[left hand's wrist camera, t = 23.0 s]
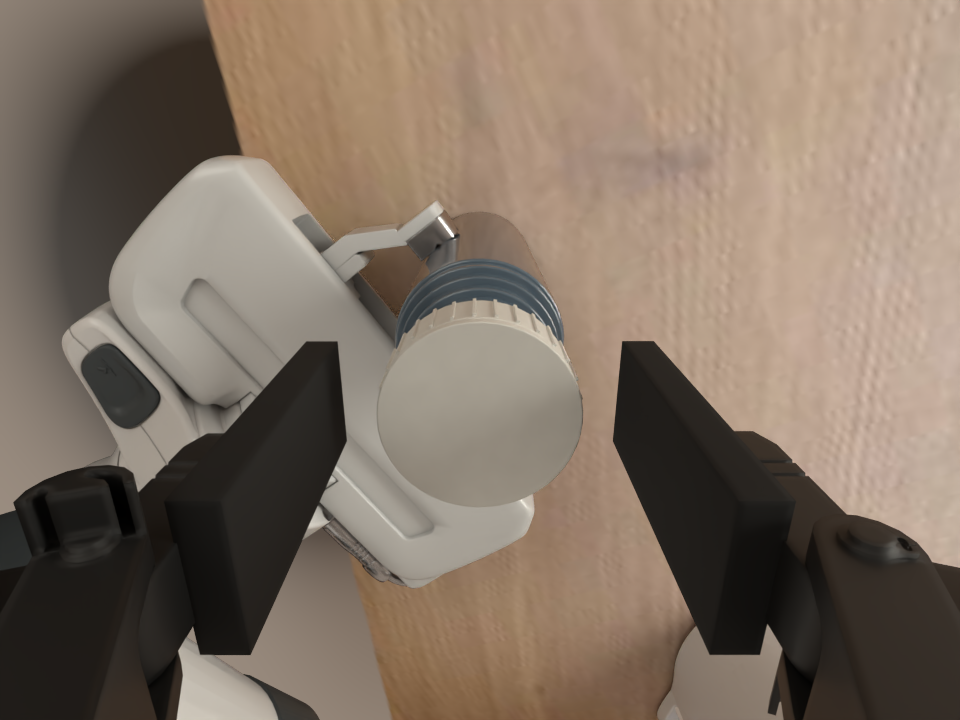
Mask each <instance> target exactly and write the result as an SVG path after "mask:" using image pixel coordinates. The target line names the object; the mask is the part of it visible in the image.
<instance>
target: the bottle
mask: <svg viewBox="0 0 960 720" xmlns="http://www.w3.org/2000/svg"><path fill="white" fill-rule="evenodd" d="M452 221H453V222H454V223H455V225H456V226H457V228H458V232H457V234H456V235H455V236H454V237H452V238H451V239H450V240H448V241H447V242H445V243H443V244H437V247H436V249H435V250H434V251H433V252H432V253H431V254H430V255H429V256H428V257H426V258H425V260H424V262H423V264H422V266H421V268H420V270H419V273H418V275H417V277H416V279H415V281H414V283H413V285H412V287H411V289H410V291H409V293H408V295H407V297H406V299H405V301H404V304H403V306H402V308H401V311H400V313H399V316H398V320H397V325H396V333H395V344H396V349H397V348H398V345H399V343H400V341H401V338H402V336H403V334H404V333H408V332H409V331H410V330H411V329H412V327H413V326H414V325H415V323H416V321H417V320H418V319H420V320H422V319H423V318H424V317H426V316H428V315H429V314H431V313H432V312H433V309H435V308H436V309H437V310H438V309H441V308H443V307H445V306H448V305H452V302H454V301H456V303H459V302H465V301H473V298H476V301H477V300H484V301H493V300H494V299H496V300H497V302H500V303H504V304H508V305H511V306H513V305H514V304H515V305H517V308H519V309H521V310H523V311H525V312H527V313H529V314H532V313H533V314H535V317H536V319H538V320H539V321H540V322H542V323H543V324H544V325H545V326H547V325H548V326H549V327H550V328H551V331H552V333H553V335H554V336H555V337H556V339H557V340H558V341H559V340H561V342H562V344H563V346H564V330H563V323H562V319H561V315H560V312H559V310H558V307H557V305H556V303H555V301H554V299H553V297H552V295H551V293H550V291H549V289H548V286H547V284H546V282H545V280H544V278H543V276H542V274H541V272H540V270H539V268H538V266H537V264H536V262H535V260H534V258H533V256H532V254H531V252H530V249H529V247H528V245H527V243H526V241H525V239H524V238H523V236H522V234H521V233H520V232H519V230H518V229H517V228H516V227H515V226H514V225H513V224H512V223H510V222H509V221H508V220H506V219H504V218H503V217H501V216H498V215H496V214H492V213H487V212H472V213H467V214H464V215H461V216H459V217H456V218H455V219H453V220H452Z"/></svg>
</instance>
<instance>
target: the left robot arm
mask: <svg viewBox="0 0 960 720" xmlns="http://www.w3.org/2000/svg"><path fill="white" fill-rule="evenodd" d="M346 442H347V435H346V424H345V414H344V403H343V393H342V382H341V372H340V361H339V350H338V341H306V342H305V343H304V344H303V346H302V347H301V348H300V349H299V350H298V351H297V352H296V353H295V355H294V356H293V357H292V358H291V359H290V360H289V361H288V362H287V364H286V365H285V366H284V367H283V368H282V369H281V370H280V371H279V372H278V374H277V375H276V376H275V377H274V378H273V379H272V380H271V381H270V383H269V384H268V385H267V386H266V387H265V388H264V389H263V390H262V392H261V393H260V394H259V395H258V396H257V397H256V398H255V399H254V401H253V402H252V403H251V404H250V405H249V406H248V407H247V408H246V409H245V411H244V412H243V413H242V414H241V415H240V416H239V417H238V418H237V420H236V421H235V422H234V423H233V424H232V425H231V426H230V427H229V429H228V430H227V431H226V432H225V433H207V434H205V435H203V436H202V437H200V438H198V439H196V440H194V441H193V442H191V443H189V444H187V445H185V446H184V447H183V448H182V449H181V450H180V451H179V452H178V453H177V454H176V455H175V456H174V457H173V458H172V459H171V460H170V461H169V462H168V465H165V466H164V467H163V468H162V469H161V470H160V471H159V472H158V473H157V474H156V475H155V478H152V479H151V480H150V481H149V482H148V483H147V484H146V485H145V486H144V487H143V488H142V489H141V490H140V491H139V492H138V490H137V486H136V482H135V478H134V474H133V473H132V472H131V471H130V470H128V469H127V468H125V467H120V466H114V465H100V466H88V467H84V468H80V469H76V470H71V471H67V472H64V473H62V474H59V475H56V476H54V477H51V478H48V479H46V480H44V481H42V482H40V483H38V484H37V485H35V486H33V487H31V488H30V489H28V490H26V491H25V492H24V493H23V494H22V495H21V496H20V497H19V498H18V499H16V500H15V501H14V506H15V509H16V512H17V515H18V517H19V520H20V523H21V526H22V529H23V532H24V535H25V538H26V540H27V543H28V546H29V549H30V552H31V555H32V557H31V559H30V561H29V563H28V564H27V565H26V566H21V567H16V568H11V569H6V570H1V571H0V720H177V714H178V707H179V700H180V693H181V686H182V679H183V672H182V664H181V660H180V656H179V652H178V650H179V649H180V647H181V645H182V644H183V642H184V640H185V639H186V637H187V635H188V634H189V632H190V630H191V629H192V627H193V628H194V632H195V636H196V640H197V645H198V649H199V653H200V655H251V653H252V650H253V648H254V646H255V644H256V642H257V639H258V637H259V635H260V633H261V630H262V628H263V626H264V624H265V622H266V619H267V617H268V615H269V613H270V610H271V608H272V606H273V604H274V602H275V599H276V597H277V595H278V593H279V591H280V588H281V586H282V584H283V582H284V580H285V577H286V575H287V573H288V571H289V568H290V566H291V564H292V562H293V559H294V557H295V555H296V553H297V551H298V549H299V546H300V544H301V542H302V540H303V537H304V535H305V533H306V531H307V529H308V526H309V524H310V522H311V520H312V518H313V515H314V513H315V511H316V509H317V506H318V504H319V502H320V500H321V498H322V495H323V493H324V491H325V489H326V487H327V484H328V482H329V480H330V478H331V475H332V473H333V471H334V469H335V467H336V464H337V462H338V460H339V458H340V456H341V453H342V451H343V449H344V447H345V444H346ZM613 442H614V444H615V447H616V449H617V451H618V453H619V456H620V458H621V460H622V462H623V464H624V467H625V469H626V471H627V473H628V475H629V478H630V480H631V482H632V484H633V487H634V489H635V491H636V493H637V495H638V498H639V500H640V502H641V504H642V506H643V509H644V511H645V513H646V515H647V518H648V520H649V522H650V524H651V526H652V529H653V531H654V533H655V535H656V537H657V540H658V542H659V544H660V546H661V549H662V551H663V553H664V555H665V557H666V560H667V562H668V564H669V566H670V568H671V571H672V573H673V575H674V577H675V580H676V582H677V584H678V586H679V588H680V591H681V593H682V595H683V597H684V599H685V602H686V604H687V606H688V608H689V611H690V613H691V615H692V617H693V619H694V622H695V624H696V626H697V628H698V630H699V633H700V635H701V637H702V639H703V642H704V644H705V646H706V648H707V650H708V653H709V655H760V653H761V649H762V645H763V640H764V636H765V632H766V628H767V624H768V626H769V627H770V629H771V631H772V632H773V634H774V636H775V637H776V639H777V641H778V642H779V644H780V645H781V647H782V652H781V656H780V660H779V664H778V668H777V672H776V676H775V680H774V683H773V687H772V691H771V695H770V699H769V705H768V713H769V714H772V715H775V716H776V713H777V709H778V706H779V702H781V705H782V712H783V719H784V720H960V568H958V567H953V566H948V565H942V564H937V563H933V562H931V560H930V558H929V556H928V555H927V554H926V552H925V551H924V550H923V549H922V548H921V547H920V546H919V544H918V543H917V542H915V541H914V540H912V539H911V538H909V537H908V536H906V535H905V534H904V533H902V532H901V531H899V530H897V529H894V528H892V527H890V526H888V525H885V524H883V523H881V522H879V521H875V520H872V519H868V518H864V517H861V516H856V515H847V514H846V513H845V512H844V511H843V510H842V509H841V508H840V507H839V506H838V505H837V504H836V503H835V502H834V501H833V500H832V499H831V498H830V497H829V496H828V495H827V494H826V493H825V492H824V491H823V490H822V489H821V488H820V487H819V486H818V485H817V484H816V483H815V482H814V481H813V480H812V479H811V478H810V477H809V476H805V472H804V471H803V470H802V469H801V468H800V467H799V466H798V465H797V464H796V463H792V459H791V458H790V457H789V456H788V455H787V454H786V453H785V452H784V451H783V450H782V449H781V448H780V447H779V446H778V445H777V444H775V443H773V442H771V441H770V440H768V439H766V438H764V437H762V436H760V435H759V434H757V433H755V432H753V431H733V430H732V429H731V427H730V426H729V425H728V424H727V423H726V422H725V421H724V420H723V418H722V417H721V416H720V415H719V414H718V413H717V412H716V411H715V409H714V408H713V407H712V406H711V405H710V404H709V403H708V402H707V401H706V399H705V398H704V397H703V396H702V395H701V394H700V393H699V392H698V390H697V389H696V388H695V387H694V386H693V385H692V384H691V383H690V381H689V380H688V379H687V378H686V377H685V376H684V375H683V374H682V372H681V371H680V370H679V369H678V368H677V367H676V366H675V365H674V364H673V362H672V361H671V360H670V359H669V358H668V357H667V356H666V355H665V353H664V352H663V351H662V350H661V349H660V348H659V347H658V346H657V344H656V343H655V342H654V341H622V350H621V361H620V371H619V382H618V393H617V403H616V414H615V424H614V435H613Z"/></svg>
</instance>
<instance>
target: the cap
mask: <svg viewBox="0 0 960 720" xmlns="http://www.w3.org/2000/svg"><path fill="white" fill-rule="evenodd" d="M577 380H578V377H577V375H576V372H575V370H574V368H573V365H572V363H571V361H570V358H569V357H568V356H567V353H566V351H565V349H564V346H563V344H562V342H561V340H559V341H558V340H557V339H556V337H555V336H554V335H553V333H552V331H551V328H550V327H549V326H548V325H547V326H545V325H544V324H543V323H542V322H540V321H539V320H538V319H536V317H535V314H533V313H532V314H529V313H527V312H525V311H523V310H521V309H519V308H517V305H515V304H514V305H513V306H511V305H508V304H504V303H500V302H497V300H496V299H494V300H493V301H484V300H477V301H476V298H473V301H465V302H459V303H456V301H454V302H452V305H448V306H445V307H443V308H441V309H438V310H437V309H436V308H435V309H433V312H432V313H431V314H429V315H428V316H426V317H424V318H423V319H422V320H420V319H418V320H417V321H416V323H415V325H414V326H413V327H412V329H411V330H410V331H409V332H408V333H404V334H403V336H402V338H401V341H400V343H399V345H398V348H397V349H395V348H394V350H393V352H392V354H391V357H390V359H389V362H388V364H387V366H386V369H385V374H384V376H383V379H382V381H381V383H380V386H379V389H378V390H380V392H379V396H378V402H377V426H378V432H379V436H380V440H381V443H382V445H383V447H384V450H385V452H386V454H387V456H388V457H389V459H390V461H391V462H392V464H393V465H394V467H395V468H396V469H397V470H398V472H399V473H400V474H401V475H402V476H403V477H404V478H405V479H406V480H407V481H408V482H410V483H411V484H412V485H414V486H415V487H416V488H417V489H419V490H421V491H422V492H424V493H426V494H428V495H429V496H432V497H434V498H436V499H438V500H441V501H444V502H447V503H451V504H455V505H460V506H467V507H493V506H499V505H505V504H508V503H512V502H516V501H518V500H521V499H523V498H526V497H528V496H530V495H532V494H534V493H535V492H537V491H539V490H540V489H542V488H543V487H545V486H546V485H547V484H549V483H550V482H551V481H552V480H553V479H554V478H555V477H556V476H557V475H558V474H559V473H560V472H561V471H562V470H563V468H564V467H565V466H566V464H567V463H568V461H569V460H570V458H571V457H572V455H573V453H574V451H575V449H576V447H577V444H578V441H579V438H580V435H581V429H582V423H583V407H582V395H581V393H580V390H579V387H578V384H577V382H576V381H577Z"/></svg>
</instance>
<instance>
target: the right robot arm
mask: <svg viewBox="0 0 960 720" xmlns="http://www.w3.org/2000/svg"><path fill="white" fill-rule="evenodd" d="M457 232H458V228H457V226H456V225H455V223H454V222H453V221H452V219H451V218H450V216H449V215H448V214H447V212H446V211H445V210H444V208H443V207H442V205H441V204H440V203H439V202H438V200H437V199H436V200H435V201H434V202H432V203H431V204H429V205H428V206H427V207H426V208H424V209H423V210H422V211H421V212H419V213H418V214H417V215H415V216H414V217H413V218H412V219H410V220H409V221H408V222H407V223H405V224H404V225H402V223H396V224H387V225H379V226H370V227H362V228H355V229H353V230H352V231H350V232H349V233H347V234H346V235H344V236H343V237H342V238H341V239H339V240H338V241H337V242H336V243H335V242H334V240H333V239H332V238H331V237H330V236H329V234H328V233H327V232H326V231H325V230H324V228H323V227H322V226H321V225H320V224H319V222H318V221H317V220H316V219H315V218H314V216H313V215H312V214H311V213H310V211H309V210H308V209H307V208H306V207H305V205H304V204H303V203H302V202H301V201H300V199H299V198H298V197H297V196H296V195H295V193H294V192H293V191H292V190H291V189H290V187H289V186H288V185H287V184H286V183H285V181H284V180H283V179H282V178H281V177H280V175H279V174H278V173H277V172H276V170H275V169H274V168H273V167H272V166H271V165H270V164H269V163H268V162H267V161H265V160H263V159H260V158H254V157H246V156H234V155H229V156H218V157H215V158H211V159H208V160H206V161H204V162H202V163H201V164H199V165H198V166H196V167H195V168H194V169H193V170H192V171H190V172H189V173H188V174H187V175H186V176H185V177H184V178H183V179H182V180H181V181H180V182H179V183H178V184H177V185H176V186H175V187H174V188H173V189H172V190H171V191H170V192H169V193H168V194H167V195H166V196H165V197H164V198H163V199H162V200H161V201H160V203H159V204H158V205H157V206H156V207H155V208H154V209H153V210H152V212H151V213H150V214H149V215H148V216H147V218H146V219H145V220H144V221H143V222H142V223H141V225H140V226H139V227H138V228H137V230H136V231H135V233H134V234H133V235H132V236H131V238H130V239H129V240H128V242H127V243H126V244H125V246H124V247H123V249H122V250H121V252H120V253H119V255H118V256H117V258H116V260H115V262H114V265H113V267H112V270H111V274H110V278H109V295H110V301H108V302H106V303H104V304H103V305H101V306H99V307H97V308H96V309H94V310H93V311H91V312H90V313H88V314H87V315H85V316H84V317H83V318H81V319H80V320H78V321H77V322H76V323H74V324H73V325H72V326H71V327H70V328H69V329H68V330H67V331H66V332H65V334H64V335H63V337H62V348H63V351H64V354H65V356H66V358H67V360H68V361H69V363H70V365H71V366H72V368H73V369H74V371H75V373H76V374H77V376H78V377H79V379H80V380H81V382H82V383H83V385H84V387H85V388H86V390H87V391H88V393H89V394H90V396H91V398H92V399H93V401H94V403H95V404H96V406H97V408H98V409H99V411H100V413H101V414H102V416H103V418H104V420H105V422H106V423H107V425H108V427H109V429H110V431H111V433H112V435H113V437H114V439H115V441H116V443H117V445H118V446H117V447H116V449H115V451H114V453H113V454H112V455H111V456H109V457H106V458H103V459H101V460H98V461H96V462H93V463H91V464H89V465H87V466H86V467H88V466H100V465H114V466H120V467H125V468H127V469H128V470H130V471H131V472H132V473H133V474H134V478H135V482H136V486H137V490H138V492H139V491H140V490H141V489H142V488H143V487H144V486H145V485H146V484H147V483H148V482H149V481H150V480H151V479H152V478H155V475H156V474H157V473H158V472H159V471H160V470H161V469H162V468H163V467H164V466H165V465H168V462H169V461H170V460H171V459H172V458H173V457H174V456H175V455H176V454H177V453H178V452H179V451H180V450H181V449H182V448H183V447H184V446H185V445H187V444H189V443H191V442H193V441H194V440H196V439H198V438H200V437H202V436H203V435H205V434H207V433H225V432H226V431H227V430H228V429H229V427H230V426H231V425H232V424H233V423H234V422H235V421H236V420H237V418H238V417H239V416H240V415H241V414H242V413H243V412H244V411H245V409H246V408H247V407H248V406H249V405H250V404H251V403H252V402H253V401H254V399H255V398H256V397H257V396H258V395H259V394H260V393H261V392H262V390H263V389H264V388H265V387H266V386H267V385H268V384H269V383H270V381H271V380H272V379H273V378H274V377H275V376H276V375H277V374H278V372H279V371H280V370H281V369H282V368H283V367H284V366H285V365H286V364H287V362H288V361H289V360H290V359H291V358H292V357H293V356H294V355H295V353H296V352H297V351H298V350H299V349H300V348H301V347H302V346H303V344H304V343H305V342H306V341H338V350H339V361H340V372H341V382H342V393H343V403H344V414H345V424H346V435H347V442H346V444H345V447H344V449H343V451H342V453H341V456H340V458H339V460H338V462H337V464H336V467H335V469H334V471H333V473H332V475H331V478H330V480H329V482H328V484H327V487H326V489H325V491H324V493H323V495H322V498H321V500H320V502H319V504H318V506H317V509H316V511H315V513H314V515H313V518H312V520H311V522H310V524H309V526H308V529H307V531H306V533H305V535H304V537H303V540H304V539H305V538H307V537H308V536H310V535H311V534H313V533H314V532H316V531H317V530H319V529H320V528H323V529H324V530H325V531H326V532H327V533H328V534H329V535H330V536H331V537H332V538H333V539H334V540H335V541H336V542H337V543H338V544H339V545H340V546H342V547H343V548H344V549H345V550H347V551H348V552H349V553H351V554H352V555H353V556H354V557H355V558H357V559H358V560H359V561H360V562H361V563H362V564H363V565H362V566H363V568H364V569H365V570H366V571H367V572H368V573H369V574H370V575H371V576H372V577H374V578H375V579H376V580H378V581H380V582H385V581H387V580H389V581H390V582H392V583H395V584H397V585H401V586H408V587H409V588H413V589H414V588H419V587H422V586H424V585H426V584H428V583H430V582H431V581H433V580H435V579H436V578H438V577H440V576H441V575H443V574H445V573H448V572H450V571H453V570H455V569H458V568H461V567H463V566H465V565H468V564H470V563H472V562H475V561H477V560H479V559H481V558H483V557H486V556H488V555H490V554H492V553H494V552H496V551H498V550H500V549H502V548H504V547H506V546H508V545H510V544H512V543H514V542H515V541H517V540H518V539H520V538H522V537H523V536H524V535H525V534H526V533H527V531H528V529H529V527H530V524H531V521H532V518H533V515H534V499H533V494H532V495H530V496H528V497H526V498H523V499H521V500H518V501H516V502H512V503H508V504H505V505H499V506H493V507H467V506H460V505H455V504H451V503H447V502H444V501H441V500H438V499H436V498H434V497H432V496H429V495H428V494H426V493H424V492H422V491H421V490H419V489H417V488H416V487H415V486H414V485H412V484H411V483H410V482H408V481H407V480H406V479H405V478H404V477H403V476H402V475H401V474H400V473H399V472H398V470H397V469H396V468H395V467H394V465H393V464H392V462H391V461H390V459H389V457H388V456H387V454H386V452H385V450H384V447H383V445H382V443H381V440H380V436H379V432H378V426H377V402H378V396H379V392H380V390H378V389H379V386H380V383H381V381H382V379H383V376H384V374H385V369H386V366H387V364H388V362H389V359H390V357H391V354H392V352H393V350H394V348H395V349H396V344H395V333H396V325H397V320H398V318H397V316H396V315H395V314H394V313H393V312H392V310H391V309H390V308H389V307H388V306H387V304H386V303H385V302H384V301H383V299H382V298H381V297H380V296H379V295H378V293H377V292H376V291H375V290H374V289H373V287H372V286H371V285H370V284H369V283H368V281H367V280H366V279H365V278H364V277H363V275H362V274H361V273H360V272H359V271H360V270H361V269H363V268H364V267H365V266H366V265H367V264H368V263H369V262H370V261H371V260H372V259H373V257H374V255H375V253H374V252H373V250H376V249H384V248H391V247H398V246H406V245H409V246H410V248H411V249H412V250H413V251H414V253H415V254H416V255H417V256H418V257H419V259H420V260H421V261H422V260H424V259H425V258H426V257H428V256H429V255H430V254H431V253H432V252H433V251H434V250H435V249H436V247H437V244H443V243H445V242H447V241H448V240H450V239H451V238H452V237H454V236H455V235H456V234H457ZM31 557H32V555H31V552H30V549H29V546H28V543H27V540H26V538H25V535H24V532H23V529H22V526H21V523H20V520H19V517H18V515H17V512H16V510H15V511H12V512H8V513H5V514H2V515H0V571H1V570H6V569H11V568H16V567H21V566H26V565H27V564H28V563H29V561H30V559H31ZM178 652H179V656H180V660H181V664H182V672H183V679H182V686H181V693H180V700H179V707H178V714H177V720H319V718H318V716H317V714H316V713H315V712H314V710H313V709H312V708H311V707H310V706H308V705H307V704H306V703H304V702H302V701H300V700H298V699H296V698H294V697H292V696H290V695H288V694H286V693H284V692H282V691H280V690H278V689H276V688H274V687H272V686H270V685H268V684H266V683H264V682H262V681H260V680H258V679H256V678H254V677H252V676H250V675H245V674H242V673H240V672H239V671H237V670H236V669H234V668H233V667H231V666H230V665H228V664H227V663H225V662H224V661H222V660H221V659H219V658H218V657H216V656H215V655H200V653H199V649H198V645H197V644H196V643H195V642H193V641H192V640H190V639H189V638H187V637H186V639H185V640H184V642H183V644H182V645H181V647H180V649H179V650H178ZM781 652H782V647H781V645H780V644H779V642H778V641H777V639H776V637H775V636H774V634H773V632H772V631H771V629H770V627H769V626H768V624H767V628H766V632H765V636H764V640H763V645H762V649H761V653H760V655H709V653H708V650H707V648H706V646H705V644H704V642H703V639H702V637H701V635H700V633H699V630H698V628H697V626H695V627H694V628H693V630H692V631H691V632H690V633H689V635H688V636H687V637H686V639H685V641H684V642H683V644H682V646H681V648H680V650H679V652H678V655H677V658H676V662H675V667H674V677H673V684H672V688H671V690H670V692H669V693H668V694H667V696H666V697H665V699H664V700H663V702H662V703H661V705H660V707H659V709H658V712H657V718H658V720H784V719H783V712H782V705H781V702H779V706H778V709H777V713H776V716H775V715H772V714H769V713H768V705H769V699H770V695H771V691H772V687H773V683H774V680H775V676H776V672H777V668H778V664H779V660H780V656H781Z"/></svg>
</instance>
